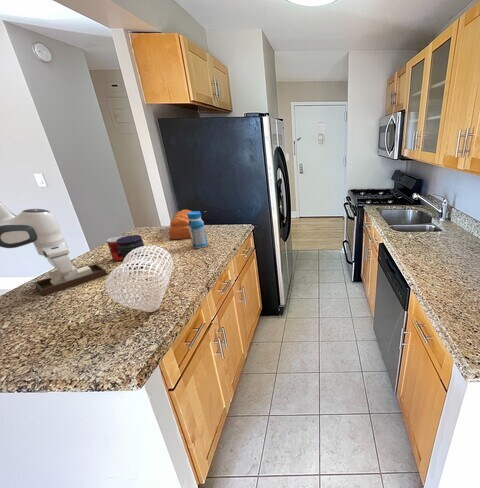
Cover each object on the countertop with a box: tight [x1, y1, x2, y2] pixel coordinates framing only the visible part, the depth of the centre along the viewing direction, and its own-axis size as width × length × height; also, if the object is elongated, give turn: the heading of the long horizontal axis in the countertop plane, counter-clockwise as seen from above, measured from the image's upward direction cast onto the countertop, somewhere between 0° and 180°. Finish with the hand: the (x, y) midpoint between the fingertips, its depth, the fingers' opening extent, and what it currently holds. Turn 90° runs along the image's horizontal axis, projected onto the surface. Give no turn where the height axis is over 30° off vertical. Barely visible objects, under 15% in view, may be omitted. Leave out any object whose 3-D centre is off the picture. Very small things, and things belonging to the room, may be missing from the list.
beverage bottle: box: [187, 210, 209, 249], centre depth 148 cm, size 8×8×20 cm
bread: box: [168, 209, 193, 240], centre depth 173 cm, size 16×31×13 cm, turn 19°
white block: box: [48, 265, 93, 286], centre depth 114 cm, size 13×6×5 cm, turn 146°
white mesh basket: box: [104, 245, 174, 313], centre depth 91 cm, size 28×16×22 cm, turn 18°
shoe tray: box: [34, 263, 108, 297], centre depth 114 cm, size 21×11×3 cm, turn 146°
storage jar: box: [116, 234, 150, 271], centre depth 124 cm, size 10×10×15 cm
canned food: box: [106, 235, 124, 262], centre depth 134 cm, size 8×8×11 cm
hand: (65, 276), depth 112 cm, fingers closed on white block, 5 cm apart
